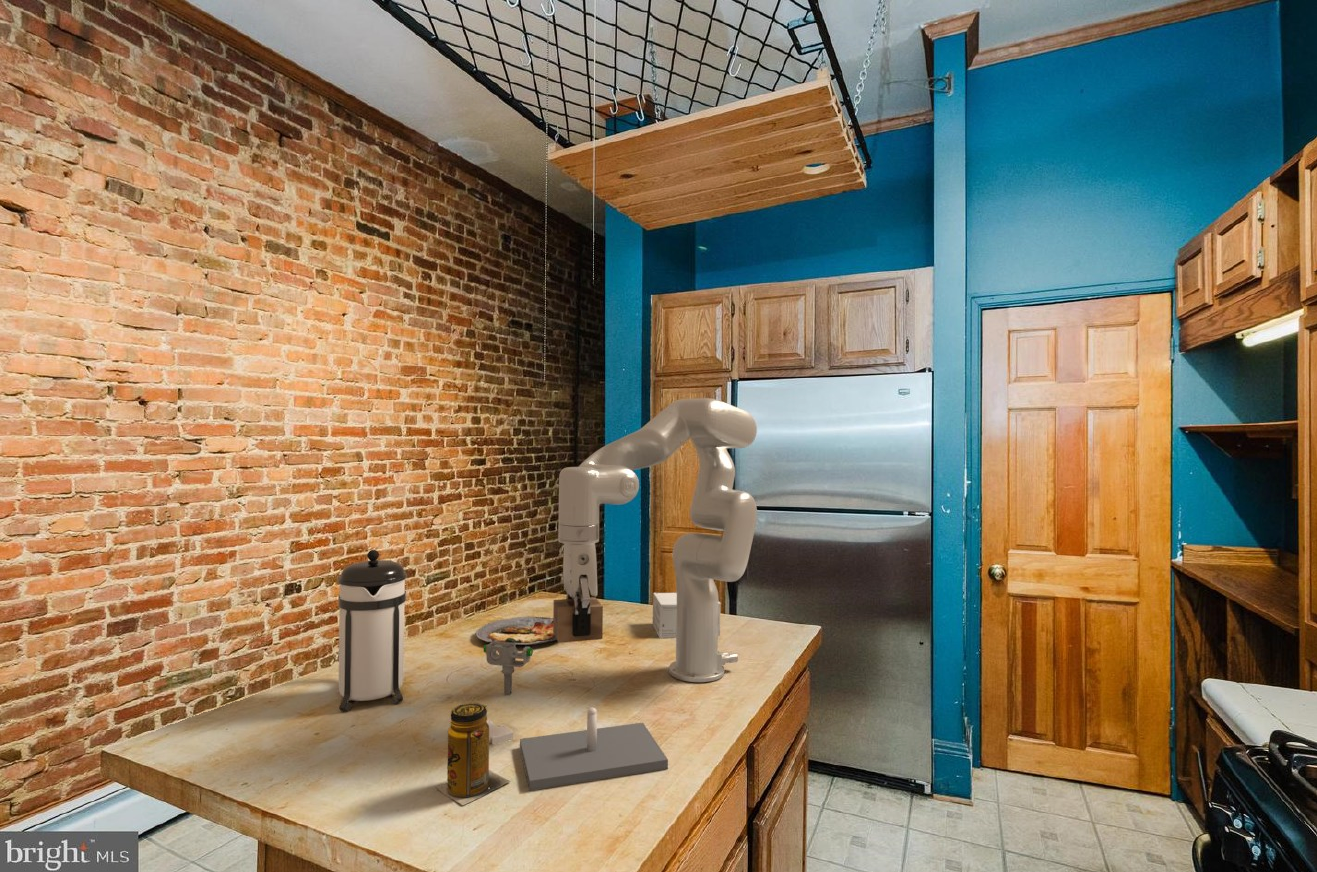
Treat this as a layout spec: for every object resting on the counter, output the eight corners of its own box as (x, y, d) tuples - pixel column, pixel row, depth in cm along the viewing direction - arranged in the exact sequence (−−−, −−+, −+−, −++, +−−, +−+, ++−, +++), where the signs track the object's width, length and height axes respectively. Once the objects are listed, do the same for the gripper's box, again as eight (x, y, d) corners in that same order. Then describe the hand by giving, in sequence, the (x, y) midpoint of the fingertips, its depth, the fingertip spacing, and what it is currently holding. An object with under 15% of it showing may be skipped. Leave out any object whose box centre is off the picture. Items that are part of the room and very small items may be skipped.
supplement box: (659, 639, 170) (659, 603, 170) (652, 624, 183) (652, 592, 183) (721, 636, 173) (721, 602, 173) (709, 622, 186) (710, 590, 186)
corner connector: (452, 736, 114) (452, 727, 114) (495, 725, 119) (495, 716, 119) (468, 754, 108) (469, 745, 108) (513, 741, 113) (513, 732, 113)
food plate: (585, 626, 180) (584, 614, 180) (552, 654, 157) (552, 640, 157) (503, 622, 185) (502, 610, 185) (460, 648, 163) (460, 635, 163)
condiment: (435, 788, 97) (436, 709, 97) (483, 766, 103) (484, 692, 103) (462, 807, 92) (463, 723, 92) (511, 783, 99) (512, 705, 99)
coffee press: (430, 689, 134) (432, 546, 135) (367, 719, 120) (369, 559, 120) (371, 675, 142) (373, 539, 142) (304, 702, 127) (306, 551, 127)
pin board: (642, 730, 117) (643, 685, 117) (667, 768, 103) (668, 717, 103) (519, 747, 110) (520, 699, 110) (529, 790, 97) (530, 735, 97)
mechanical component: (527, 698, 130) (528, 649, 130) (481, 694, 132) (482, 645, 132) (533, 693, 133) (534, 645, 133) (488, 688, 135) (488, 641, 135)
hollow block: (594, 628, 124) (595, 597, 124) (602, 639, 117) (602, 606, 117) (553, 631, 121) (553, 599, 121) (558, 642, 115) (559, 609, 115)
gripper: (609, 540, 112) (607, 642, 112) (589, 526, 129) (588, 615, 129) (566, 541, 110) (565, 645, 110) (551, 527, 126) (550, 618, 126)
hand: (577, 628), depth 119 cm, fingers closed on hollow block, 6 cm apart
